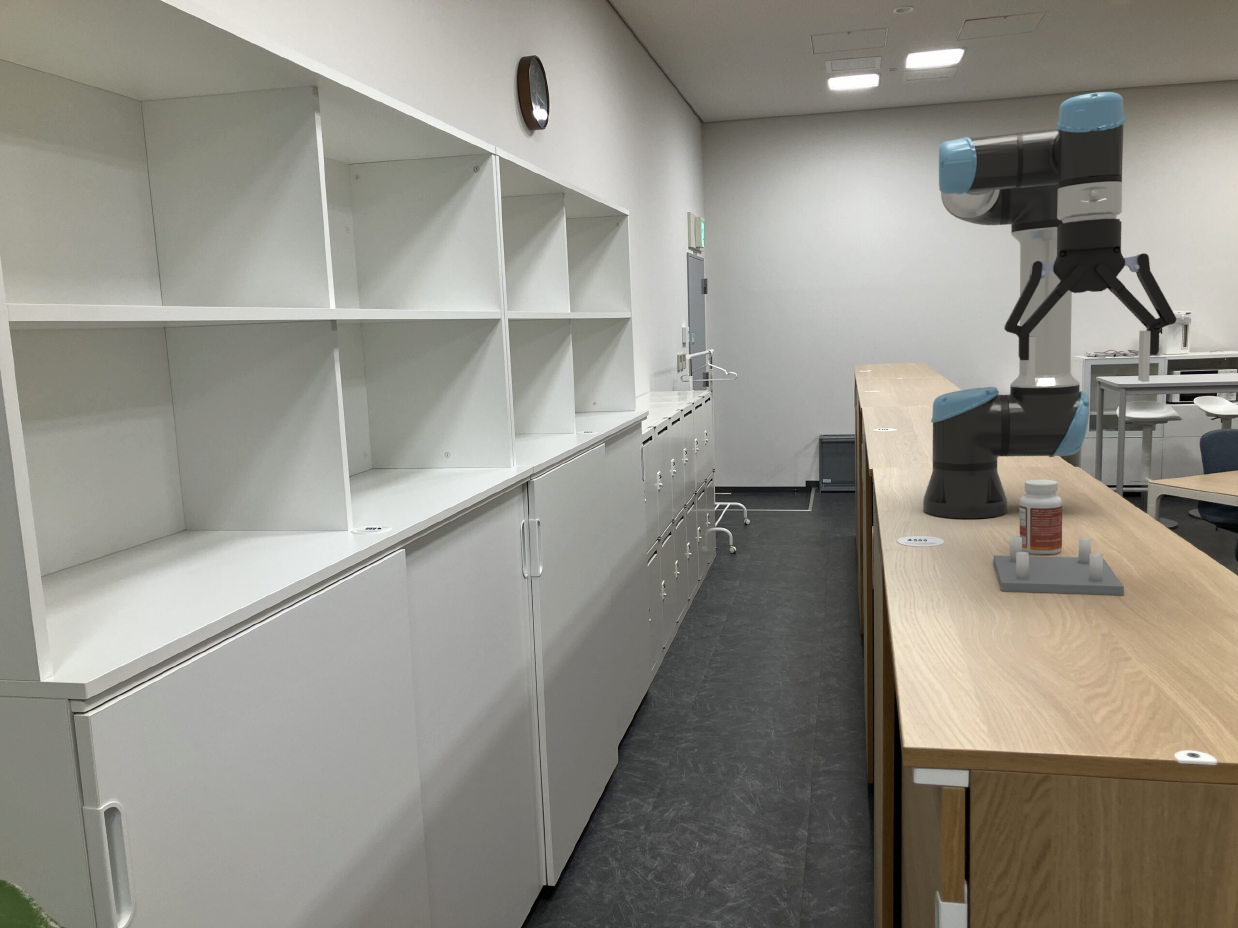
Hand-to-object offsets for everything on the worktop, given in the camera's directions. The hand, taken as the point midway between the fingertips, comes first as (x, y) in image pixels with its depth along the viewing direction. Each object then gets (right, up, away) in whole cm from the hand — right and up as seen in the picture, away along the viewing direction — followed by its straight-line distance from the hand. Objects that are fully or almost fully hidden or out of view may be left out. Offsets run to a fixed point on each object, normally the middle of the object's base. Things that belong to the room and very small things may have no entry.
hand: (1086, 383), depth 125 cm
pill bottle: (+4, -25, +23) cm, 34 cm away
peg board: (-1, -27, +8) cm, 28 cm away
